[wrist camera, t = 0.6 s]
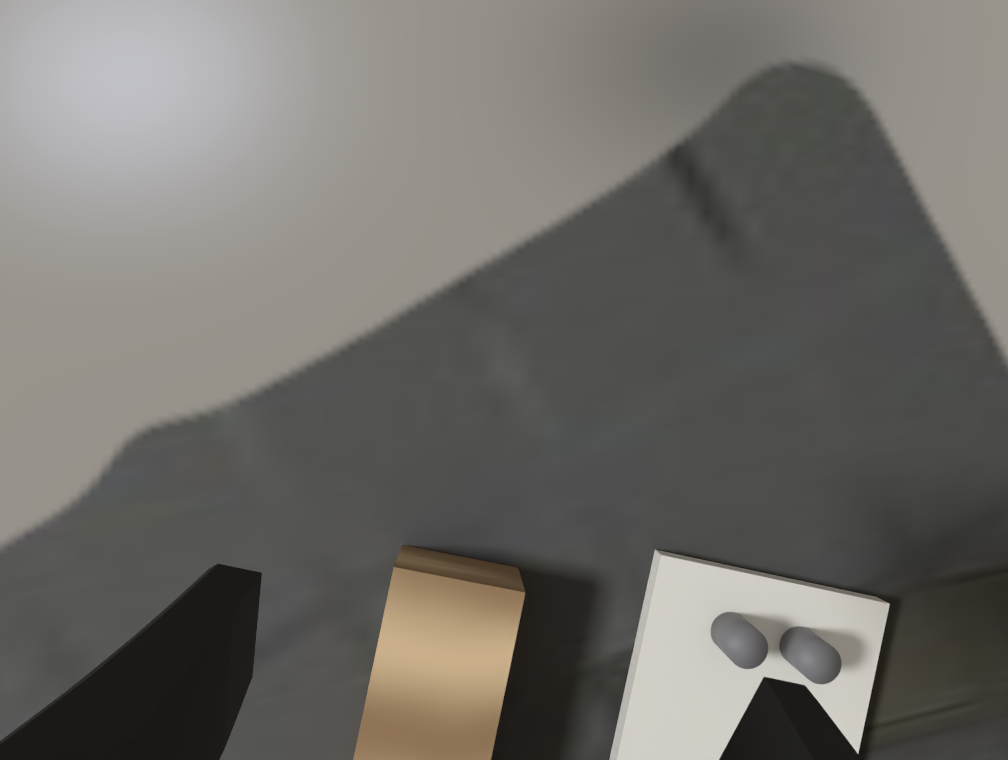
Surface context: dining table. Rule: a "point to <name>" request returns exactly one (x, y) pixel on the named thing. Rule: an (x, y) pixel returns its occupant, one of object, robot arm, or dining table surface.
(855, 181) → the dining table surface
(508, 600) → the tan rectangular block
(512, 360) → the dining table surface
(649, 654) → the peg stand
